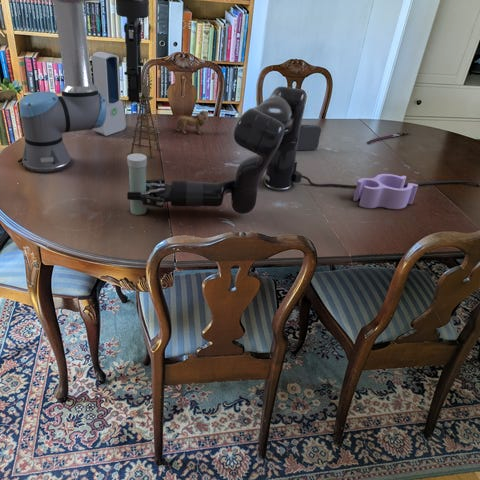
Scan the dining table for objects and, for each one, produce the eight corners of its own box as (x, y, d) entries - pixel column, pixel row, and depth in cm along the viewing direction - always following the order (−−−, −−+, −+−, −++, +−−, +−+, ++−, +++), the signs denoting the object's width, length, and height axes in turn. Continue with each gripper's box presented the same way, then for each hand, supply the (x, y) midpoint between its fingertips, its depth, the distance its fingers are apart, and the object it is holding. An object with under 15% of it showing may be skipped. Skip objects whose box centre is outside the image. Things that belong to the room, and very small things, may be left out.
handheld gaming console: (315, 147, 196) (319, 124, 190) (317, 149, 194) (322, 126, 188) (264, 149, 189) (267, 125, 183) (266, 152, 187) (269, 127, 181)
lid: (142, 169, 128) (142, 162, 127) (124, 166, 129) (123, 159, 128) (149, 162, 133) (149, 155, 131) (132, 159, 133) (131, 152, 132)
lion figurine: (205, 129, 202) (206, 108, 197) (209, 133, 198) (210, 112, 193) (172, 130, 197) (172, 109, 192) (175, 135, 193) (175, 113, 188)
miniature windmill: (151, 157, 172) (150, 74, 155) (129, 154, 173) (126, 70, 156) (160, 149, 179) (159, 68, 163) (139, 145, 180) (137, 64, 164)
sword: (405, 131, 223) (406, 129, 223) (410, 133, 221) (411, 131, 221) (362, 143, 208) (363, 140, 207) (367, 145, 206) (368, 143, 205)
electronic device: (104, 136, 184) (98, 57, 168) (90, 131, 187) (84, 53, 171) (126, 129, 193) (123, 53, 177) (113, 124, 196) (109, 49, 180)
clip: (366, 212, 151) (371, 193, 147) (347, 194, 161) (351, 176, 157) (417, 207, 158) (423, 188, 154) (395, 190, 167) (401, 172, 163)
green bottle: (142, 216, 137) (141, 163, 128) (128, 213, 137) (125, 160, 128) (148, 208, 140) (148, 157, 131) (134, 206, 141) (132, 154, 132)
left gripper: (119, -9, 116) (123, 85, 128) (110, 1, 99) (116, 107, 112) (150, -6, 117) (151, 86, 129) (146, 4, 100) (148, 109, 113)
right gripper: (187, 171, 141) (130, 169, 139) (188, 193, 129) (125, 191, 127) (187, 193, 145) (131, 191, 143) (187, 217, 133) (126, 215, 131)
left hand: (135, 96), depth 120 cm, fingers open, 7 cm apart
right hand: (128, 191), depth 135 cm, fingers closed on green bottle, 4 cm apart
